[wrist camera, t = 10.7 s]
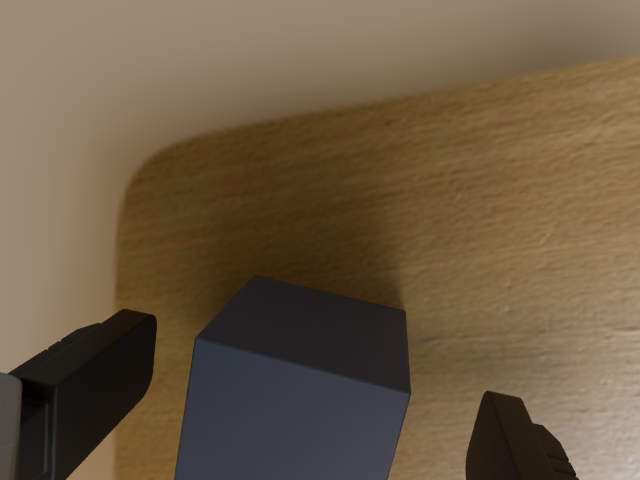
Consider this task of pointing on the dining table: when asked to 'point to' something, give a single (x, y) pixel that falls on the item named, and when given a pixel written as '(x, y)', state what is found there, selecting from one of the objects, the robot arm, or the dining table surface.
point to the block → (295, 388)
